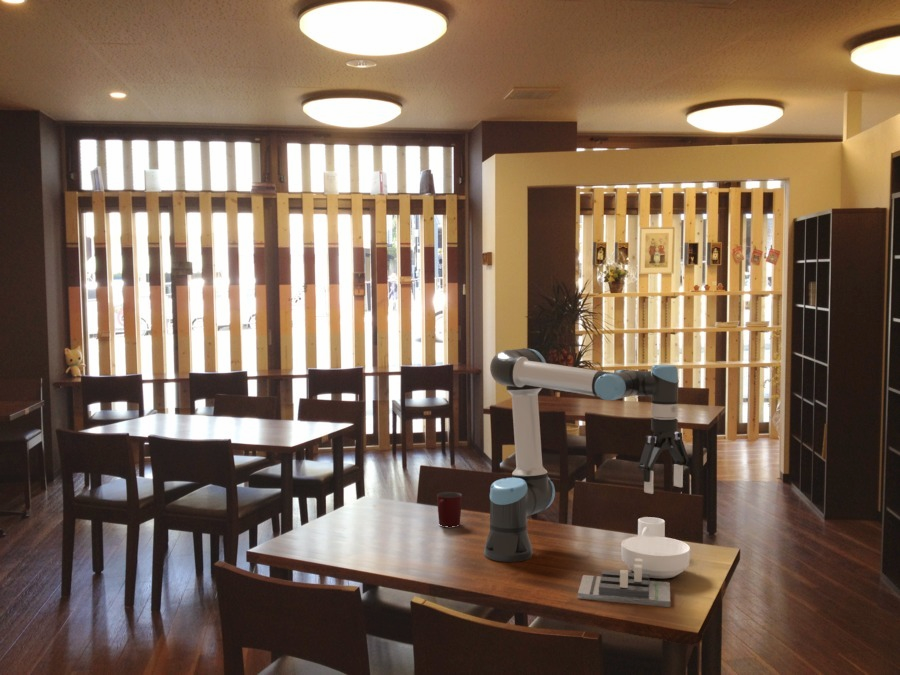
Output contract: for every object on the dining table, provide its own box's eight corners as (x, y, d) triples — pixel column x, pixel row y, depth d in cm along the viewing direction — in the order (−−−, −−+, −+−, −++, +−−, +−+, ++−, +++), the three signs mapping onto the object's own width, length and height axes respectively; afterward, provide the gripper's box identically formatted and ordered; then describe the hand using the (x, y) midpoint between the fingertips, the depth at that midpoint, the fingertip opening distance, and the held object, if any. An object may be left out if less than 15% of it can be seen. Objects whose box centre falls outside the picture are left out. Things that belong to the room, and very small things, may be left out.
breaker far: (634, 575, 223) (634, 560, 223) (634, 572, 225) (635, 558, 225) (641, 575, 223) (642, 561, 222) (642, 572, 225) (642, 558, 225)
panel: (577, 598, 215) (577, 585, 215) (582, 580, 230) (583, 568, 230) (670, 607, 209) (670, 593, 209) (669, 587, 224) (669, 575, 224)
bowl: (687, 565, 243) (688, 538, 243) (692, 587, 224) (692, 557, 224) (621, 560, 248) (621, 533, 248) (620, 582, 229) (620, 552, 228)
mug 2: (654, 561, 248) (654, 527, 247) (629, 556, 252) (629, 523, 252) (668, 551, 257) (668, 519, 257) (643, 546, 262) (644, 515, 262)
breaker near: (619, 587, 213) (620, 572, 213) (620, 584, 216) (620, 569, 216) (627, 587, 213) (627, 573, 213) (627, 584, 215) (628, 570, 215)
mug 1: (451, 532, 279) (451, 500, 278) (428, 528, 283) (428, 497, 282) (465, 523, 290) (465, 493, 289) (443, 520, 293) (443, 490, 293)
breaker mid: (633, 581, 218) (634, 567, 218) (634, 578, 220) (634, 564, 220) (641, 582, 217) (641, 567, 217) (641, 579, 220) (641, 564, 219)
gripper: (647, 422, 224) (646, 498, 225) (701, 415, 239) (700, 486, 240) (626, 419, 230) (625, 493, 231) (680, 413, 245) (679, 481, 246)
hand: (663, 489), depth 236 cm, fingers open, 13 cm apart
